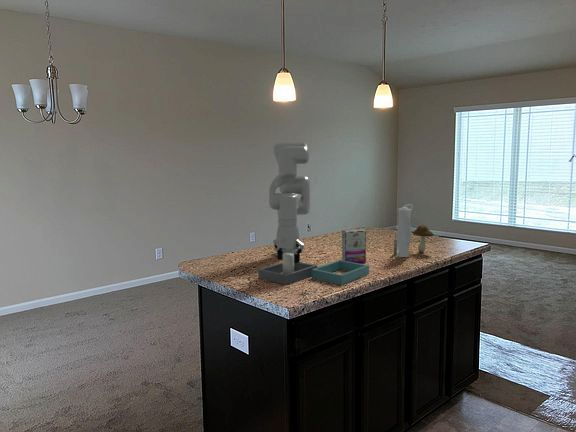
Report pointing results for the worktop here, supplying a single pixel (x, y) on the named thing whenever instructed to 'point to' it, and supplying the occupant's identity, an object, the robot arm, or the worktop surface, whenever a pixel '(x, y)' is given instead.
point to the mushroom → (422, 236)
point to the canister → (288, 263)
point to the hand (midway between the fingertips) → (288, 261)
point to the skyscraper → (403, 233)
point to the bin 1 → (274, 274)
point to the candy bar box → (354, 246)
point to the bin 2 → (326, 275)
